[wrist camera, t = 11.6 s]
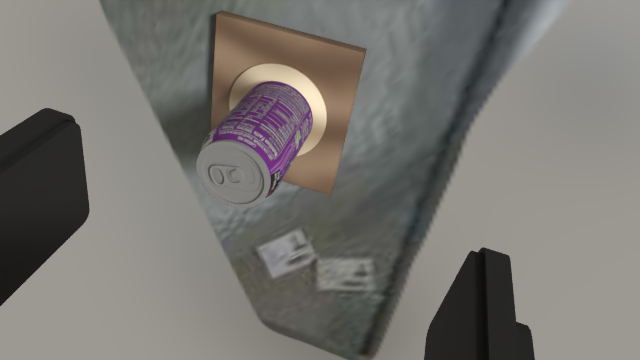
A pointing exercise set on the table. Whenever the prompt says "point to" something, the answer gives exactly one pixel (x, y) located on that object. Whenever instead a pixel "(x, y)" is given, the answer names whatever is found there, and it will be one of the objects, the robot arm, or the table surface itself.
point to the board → (297, 71)
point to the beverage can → (254, 145)
